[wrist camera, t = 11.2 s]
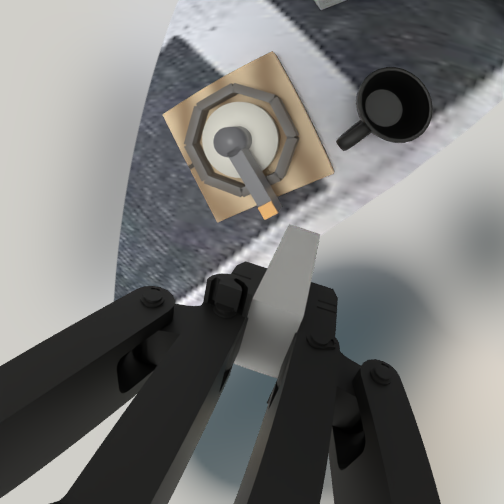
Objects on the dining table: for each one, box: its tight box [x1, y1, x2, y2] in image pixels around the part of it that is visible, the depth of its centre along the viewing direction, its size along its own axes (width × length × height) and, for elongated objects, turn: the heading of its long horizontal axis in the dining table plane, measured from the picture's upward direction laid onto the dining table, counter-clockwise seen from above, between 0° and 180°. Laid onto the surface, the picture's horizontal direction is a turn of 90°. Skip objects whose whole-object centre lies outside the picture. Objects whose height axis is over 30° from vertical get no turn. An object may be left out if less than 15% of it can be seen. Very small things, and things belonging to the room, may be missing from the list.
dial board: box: [163, 51, 334, 222], centre depth 40 cm, size 18×18×4 cm
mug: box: [336, 67, 433, 151], centre depth 32 cm, size 8×12×10 cm
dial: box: [202, 102, 282, 219], centre depth 38 cm, size 15×10×6 cm, turn 32°
